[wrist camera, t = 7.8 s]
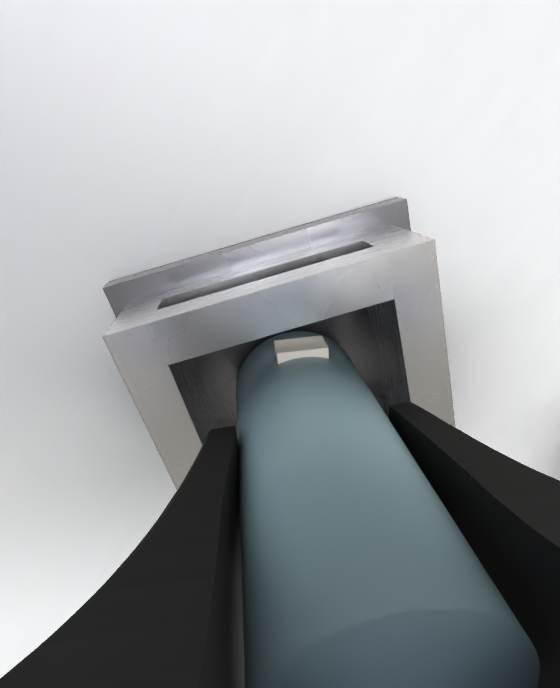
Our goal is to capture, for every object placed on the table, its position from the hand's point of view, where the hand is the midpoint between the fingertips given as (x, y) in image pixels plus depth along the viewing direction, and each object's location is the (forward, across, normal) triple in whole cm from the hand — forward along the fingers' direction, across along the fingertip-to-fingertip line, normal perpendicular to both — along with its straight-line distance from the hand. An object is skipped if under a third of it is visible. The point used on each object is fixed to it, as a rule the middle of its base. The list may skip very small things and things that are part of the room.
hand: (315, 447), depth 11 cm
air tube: (+3, 0, 0) cm, 3 cm away
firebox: (+5, 0, 0) cm, 5 cm away
